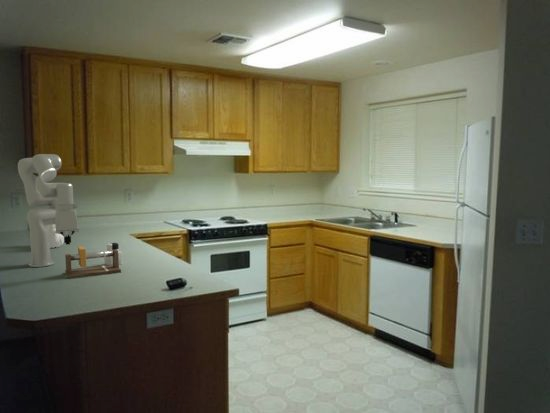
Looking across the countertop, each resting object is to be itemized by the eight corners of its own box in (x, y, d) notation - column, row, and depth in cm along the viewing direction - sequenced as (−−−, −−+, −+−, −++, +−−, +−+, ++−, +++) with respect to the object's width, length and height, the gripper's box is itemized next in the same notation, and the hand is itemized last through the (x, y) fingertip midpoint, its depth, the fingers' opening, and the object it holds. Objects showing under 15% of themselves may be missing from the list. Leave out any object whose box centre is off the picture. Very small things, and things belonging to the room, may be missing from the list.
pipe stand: (65, 272, 239) (64, 252, 238) (115, 266, 252) (114, 247, 251) (68, 278, 226) (67, 257, 225) (120, 272, 239) (120, 252, 238)
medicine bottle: (116, 262, 263) (115, 241, 262) (122, 264, 258) (121, 243, 257) (104, 264, 258) (103, 243, 257) (110, 266, 253) (109, 244, 252)
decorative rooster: (40, 245, 317) (38, 210, 315) (65, 244, 323) (63, 209, 321) (35, 252, 294) (33, 213, 292) (62, 250, 300) (60, 212, 297)
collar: (78, 263, 239) (77, 246, 238) (83, 263, 240) (82, 246, 240) (81, 267, 231) (80, 249, 231) (86, 266, 233) (85, 249, 232)
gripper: (80, 206, 237) (82, 241, 238) (48, 208, 229) (50, 244, 231) (82, 207, 230) (84, 243, 232) (49, 209, 223) (52, 246, 224)
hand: (67, 244), depth 231 cm, fingers closed
